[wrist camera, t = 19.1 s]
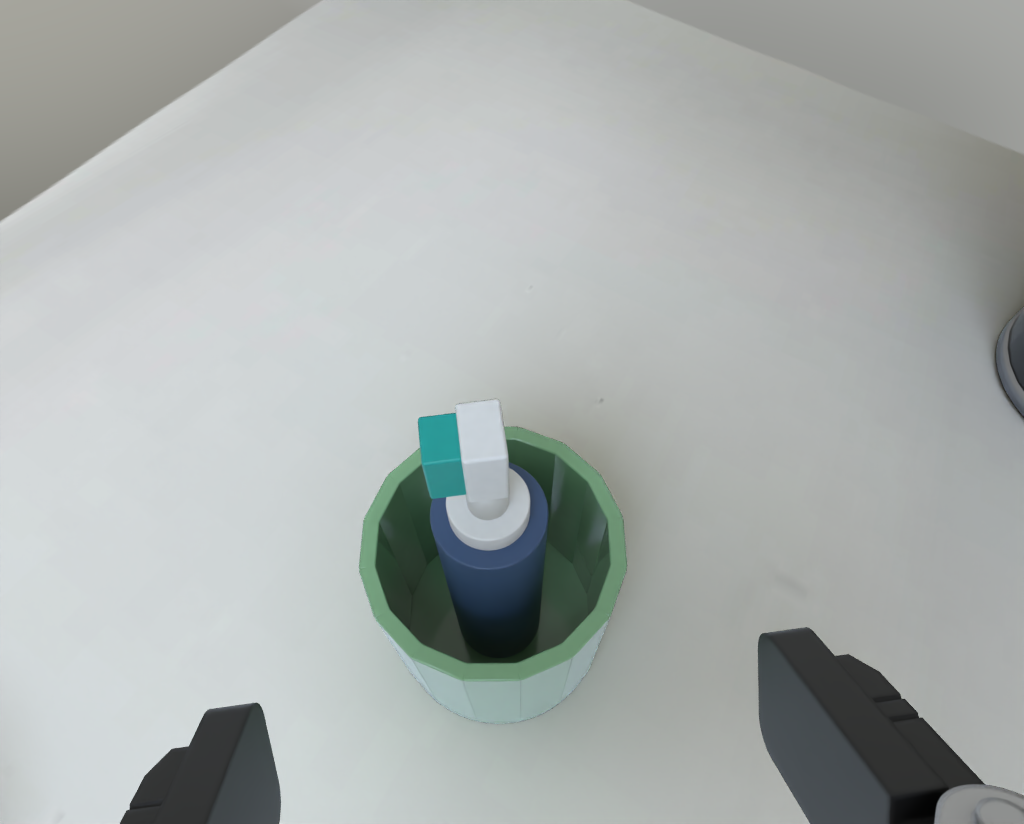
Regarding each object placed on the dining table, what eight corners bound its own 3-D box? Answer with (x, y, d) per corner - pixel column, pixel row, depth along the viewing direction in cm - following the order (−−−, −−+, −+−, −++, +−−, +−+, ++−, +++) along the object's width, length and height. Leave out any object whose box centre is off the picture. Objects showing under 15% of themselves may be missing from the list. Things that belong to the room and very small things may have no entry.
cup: (451, 499, 33) (429, 394, 25) (624, 565, 32) (659, 476, 24) (366, 674, 30) (311, 615, 22) (557, 759, 28) (572, 728, 20)
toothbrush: (533, 572, 31) (542, 358, 17) (545, 652, 29) (567, 487, 15) (454, 583, 31) (402, 375, 17) (463, 663, 29) (411, 508, 15)
